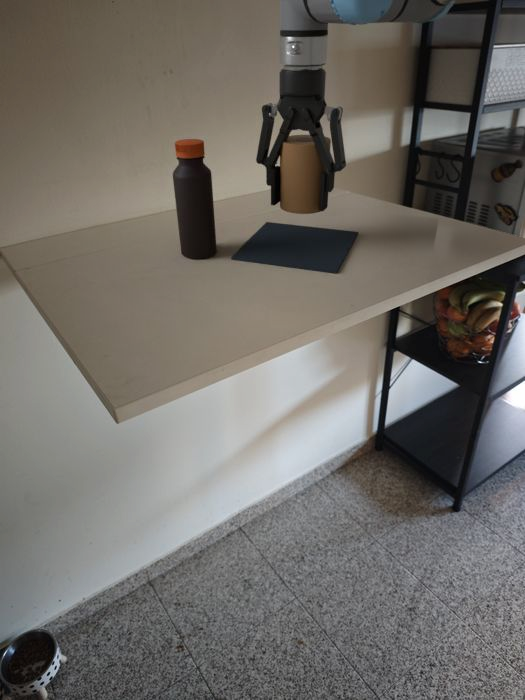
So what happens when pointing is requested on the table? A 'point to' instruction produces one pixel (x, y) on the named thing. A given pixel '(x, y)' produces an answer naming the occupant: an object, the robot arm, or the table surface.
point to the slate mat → (298, 247)
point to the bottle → (194, 200)
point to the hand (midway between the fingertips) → (298, 206)
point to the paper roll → (300, 175)
